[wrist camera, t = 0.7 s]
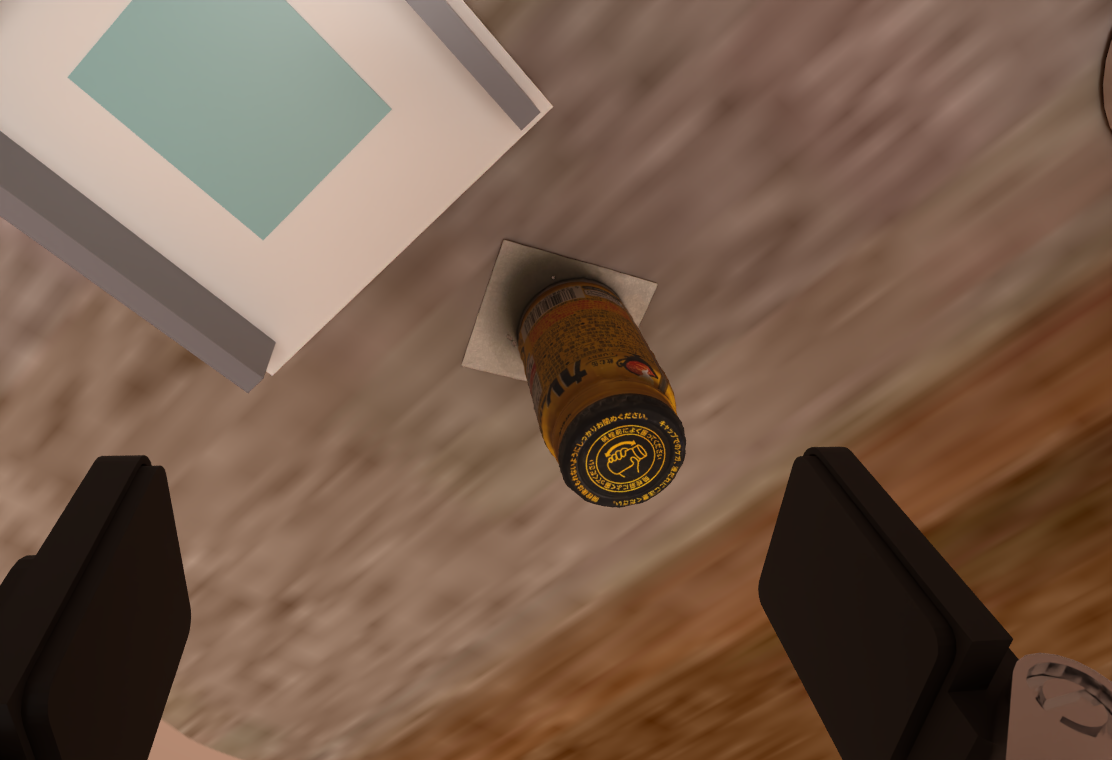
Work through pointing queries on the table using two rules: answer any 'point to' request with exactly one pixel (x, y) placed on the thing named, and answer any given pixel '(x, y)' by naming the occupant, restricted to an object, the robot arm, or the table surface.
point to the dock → (246, 151)
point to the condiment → (583, 371)
